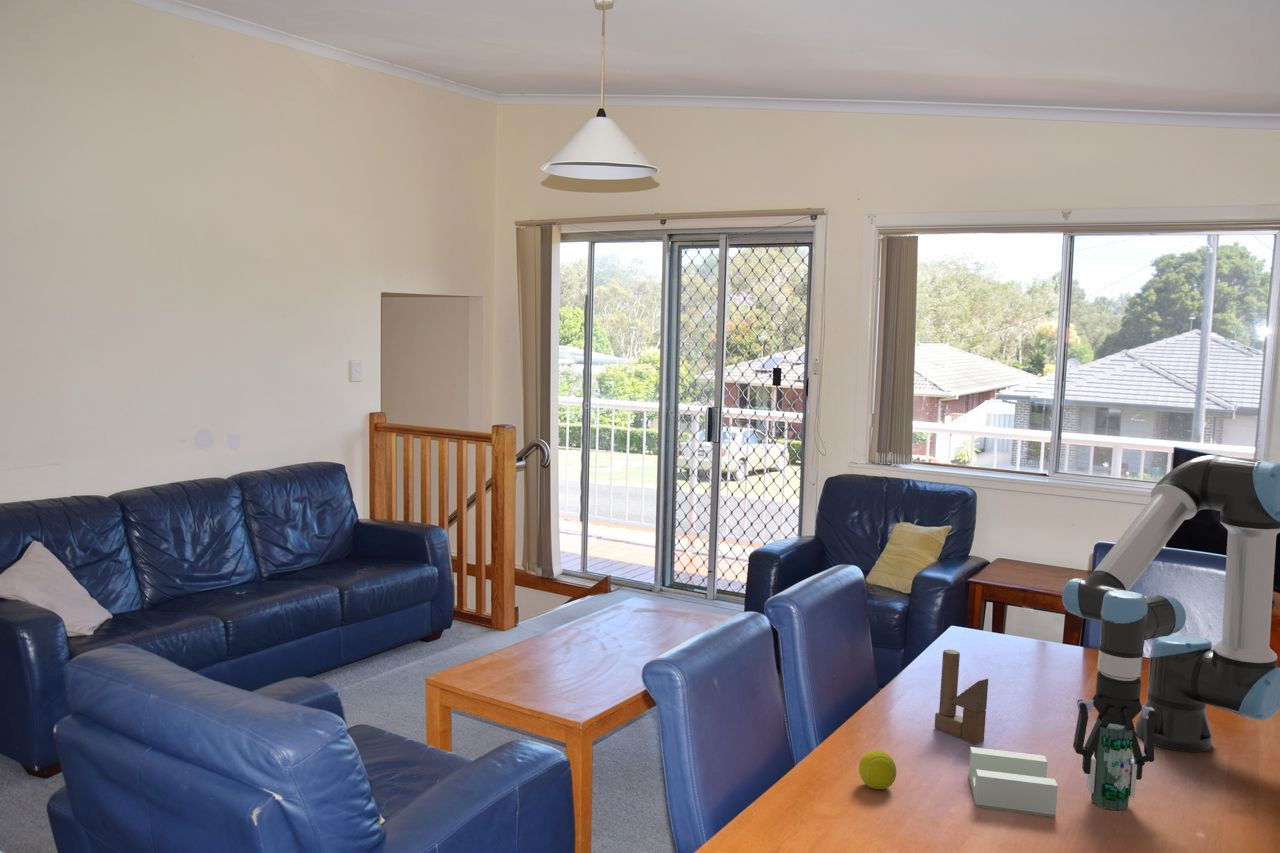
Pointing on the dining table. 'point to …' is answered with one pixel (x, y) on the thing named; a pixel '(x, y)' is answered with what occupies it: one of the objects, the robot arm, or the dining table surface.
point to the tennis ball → (877, 770)
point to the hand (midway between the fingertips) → (1110, 792)
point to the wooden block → (961, 703)
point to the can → (1113, 767)
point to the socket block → (1012, 782)
